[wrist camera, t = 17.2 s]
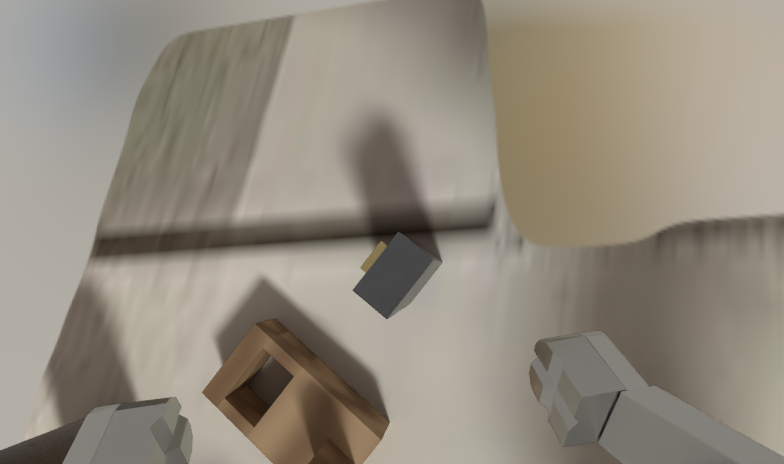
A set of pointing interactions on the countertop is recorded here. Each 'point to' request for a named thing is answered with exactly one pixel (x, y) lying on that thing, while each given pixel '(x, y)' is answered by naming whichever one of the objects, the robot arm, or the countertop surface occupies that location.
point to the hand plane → (295, 403)
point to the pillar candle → (43, 447)
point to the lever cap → (395, 274)
